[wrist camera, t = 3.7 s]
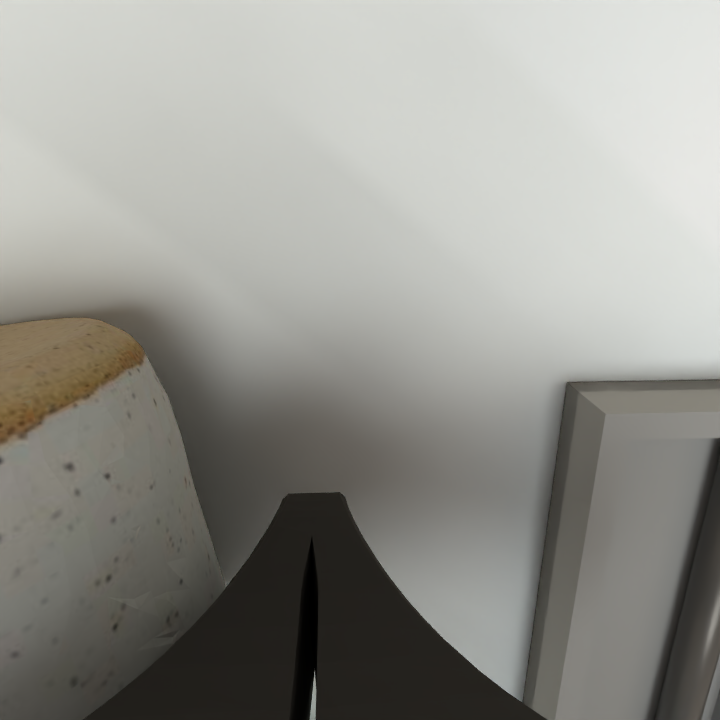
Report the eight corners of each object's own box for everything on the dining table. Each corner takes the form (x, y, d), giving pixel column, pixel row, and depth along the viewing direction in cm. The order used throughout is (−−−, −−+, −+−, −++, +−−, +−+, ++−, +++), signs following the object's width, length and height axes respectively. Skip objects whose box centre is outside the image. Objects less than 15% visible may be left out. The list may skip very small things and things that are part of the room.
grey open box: (673, 845, 18) (709, 914, 17) (501, 859, 18) (520, 930, 16) (809, 378, 13) (883, 408, 11) (567, 382, 13) (605, 413, 11)
